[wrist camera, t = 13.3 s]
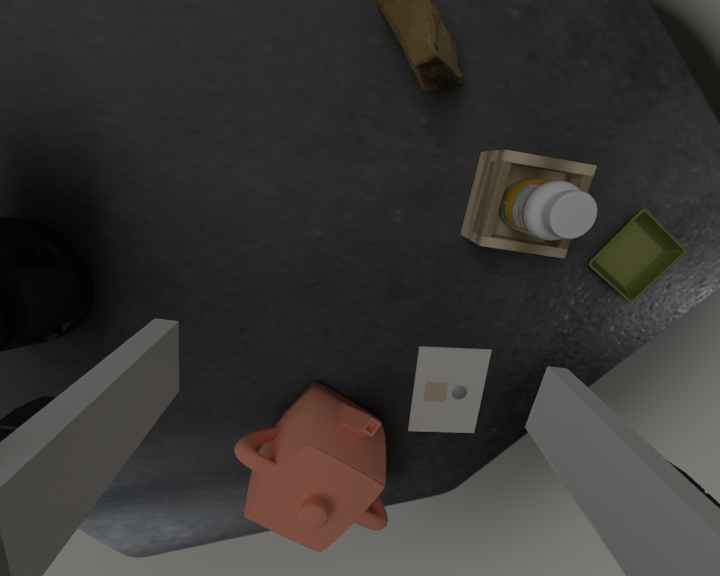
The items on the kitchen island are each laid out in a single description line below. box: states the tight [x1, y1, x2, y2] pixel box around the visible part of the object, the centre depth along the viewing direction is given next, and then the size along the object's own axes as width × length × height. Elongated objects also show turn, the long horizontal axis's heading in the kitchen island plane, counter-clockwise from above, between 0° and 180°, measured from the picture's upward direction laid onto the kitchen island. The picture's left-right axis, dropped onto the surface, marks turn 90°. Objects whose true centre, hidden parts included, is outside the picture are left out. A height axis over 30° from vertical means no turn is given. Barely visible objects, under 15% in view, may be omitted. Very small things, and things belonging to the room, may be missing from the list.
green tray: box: [589, 209, 686, 302], centre depth 44 cm, size 9×9×2 cm
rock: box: [376, 0, 463, 91], centre depth 34 cm, size 11×9×10 cm
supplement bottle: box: [498, 179, 597, 240], centre depth 34 cm, size 5×5×10 cm
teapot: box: [234, 381, 388, 552], centre depth 45 cm, size 20×22×14 cm
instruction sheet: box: [408, 346, 492, 433], centre depth 51 cm, size 10×14×1 cm
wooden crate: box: [461, 150, 597, 259], centre depth 39 cm, size 10×10×6 cm
